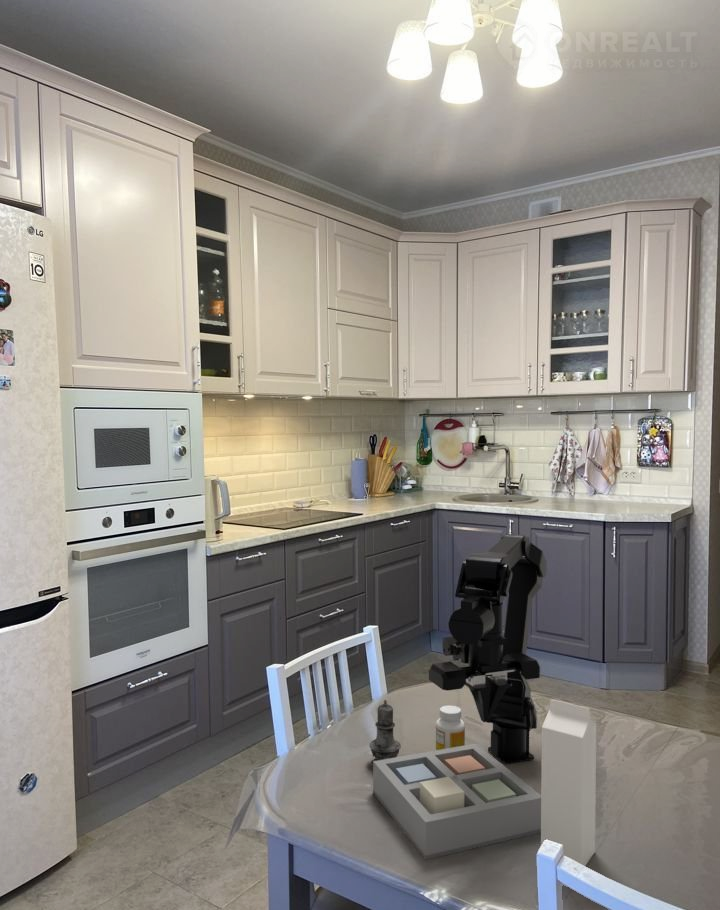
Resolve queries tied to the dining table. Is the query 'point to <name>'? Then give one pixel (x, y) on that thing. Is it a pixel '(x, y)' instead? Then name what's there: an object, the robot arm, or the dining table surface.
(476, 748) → the keypad
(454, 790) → the key cream
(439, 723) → the supplement bottle
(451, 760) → the key terracotta
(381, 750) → the grey chess piece
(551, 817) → the milk
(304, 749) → the dining table surface
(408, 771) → the key slate
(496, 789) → the key sage
